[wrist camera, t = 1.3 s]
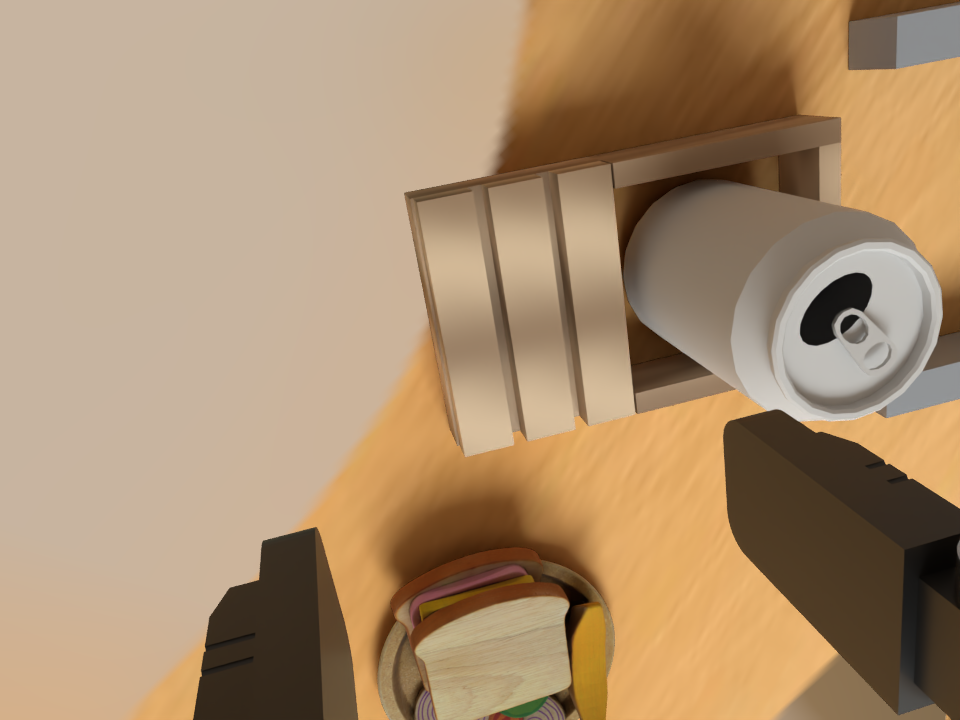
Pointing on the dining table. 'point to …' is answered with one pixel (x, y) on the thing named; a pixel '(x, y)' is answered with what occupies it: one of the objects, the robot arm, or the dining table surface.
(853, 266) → the can
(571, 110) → the dining table surface
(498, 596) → the toy sandwich meal
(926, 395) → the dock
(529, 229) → the pallet
